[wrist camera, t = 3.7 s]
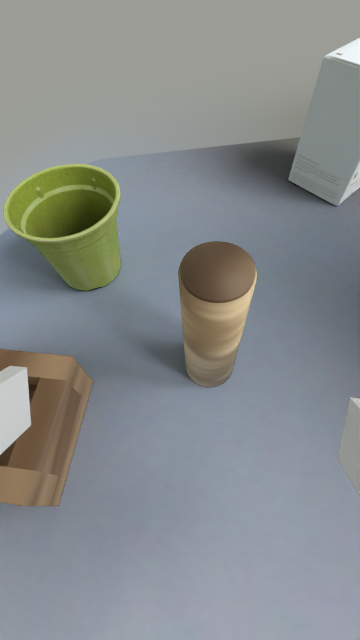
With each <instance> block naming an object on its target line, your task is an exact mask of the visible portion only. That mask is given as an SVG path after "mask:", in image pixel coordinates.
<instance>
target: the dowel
mask: <svg viewBox="0 0 360 640" xmlns="http://www.w3.org/2000/svg"><path fill="white" fill-rule="evenodd" d="M178 275H179V288H180V301H181V314H182V327H183V340H184V353H185V366H186V371H187V374H188V375H189V377H190V378H191V379H192V380H193V381H194V382H195V383H197V384H198V385H201V386H204V387H215V386H219V385H221V384H223V383H224V382H225V381H226V380H227V379H228V378H229V377H230V375H231V373H232V369H233V365H234V362H235V358H236V354H237V351H238V347H239V343H240V339H241V336H242V332H243V328H244V324H245V321H246V317H247V313H248V310H249V306H250V302H251V298H252V295H253V291H254V287H255V283H256V280H257V271H256V267H255V263H254V261H253V259H252V258H251V256H250V255H249V254H248V253H247V252H246V251H245V250H243V249H242V248H240V247H238V246H236V245H234V244H231V243H227V242H218V241H215V242H207V243H203V244H200V245H198V246H196V247H194V248H193V249H191V250H190V251H189V252H188V253H187V254H186V255H185V256H184V258H183V260H182V262H181V264H180V267H179V273H178Z"/></svg>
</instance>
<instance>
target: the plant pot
mask: <svg viewBox="0 0 360 640" xmlns="http://www.w3.org/2000/svg"><path fill="white" fill-rule="evenodd" d="M119 202H120V188H119V185H118V182H117V181H116V179H115V178H114V177H113V176H112V175H111V174H110V173H108V172H107V171H105V170H103V169H101V168H99V167H96V166H92V165H86V164H67V165H60V166H55V167H51V168H48V169H45V170H42V171H40V172H38V173H35V174H33V175H31V176H30V177H28V178H27V179H25V180H24V181H22V182H21V183H20V184H18V185H17V186H16V187H15V188H14V190H12V192H11V193H10V194H9V196H8V198H7V200H6V202H5V205H4V209H3V214H4V219H5V222H6V224H7V225H8V227H9V228H10V229H11V230H12V231H13V232H14V233H15V234H16V235H18V236H20V237H21V238H24V239H26V240H27V241H28V242H29V243H30V244H32V245H34V246H35V247H36V248H37V249H38V250H39V251H40V253H41V254H42V255H43V256H44V257H45V258H46V260H47V261H48V262H49V263H50V264H51V265H52V266H53V268H54V269H55V270H56V271H57V272H58V274H59V275H60V276H61V277H62V278H63V279H64V281H65V282H66V283H67V284H68V285H69V286H71V287H73V288H75V289H78V290H83V291H89V290H91V289H94V288H98V287H104V286H106V285H108V284H109V283H110V282H112V281H113V280H114V279H115V278H116V276H117V275H118V273H119V270H120V267H121V260H120V252H119V243H118V233H117V223H116V217H117V212H118V209H117V208H118V205H119Z"/></svg>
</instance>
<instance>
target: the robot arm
mask: <svg viewBox="0 0 360 640" xmlns="http://www.w3.org/2000/svg"><path fill="white" fill-rule="evenodd" d="M30 426H31V416H30V402H29V389H28V375H27V367H18V366H9V367H7V368H5V369H4V370H2V371H0V455H1V454H2V453H3V452H4V451H5V450H6V449H7V448H8V447H9V446H10V445H11V444H12V443H13V442H14V441H15V440H16V439H17V438H18V437H19V436H20V435H21V434H22V433H24V432H25V431H26V430H27V429H28V428H29V427H30ZM338 461H339V463H340V464H341V466H342V468H343V470H344V471H345V473H346V475H347V476H348V478H349V480H350V482H351V483H352V485H353V487H354V488H355V490H356V492H357V494H358V495H359V497H360V398H351V397H350V399H349V404H348V409H347V414H346V419H345V424H344V429H343V434H342V439H341V444H340V450H339V455H338Z"/></svg>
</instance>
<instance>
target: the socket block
mask: <svg viewBox="0 0 360 640" xmlns="http://www.w3.org/2000/svg"><path fill="white" fill-rule="evenodd" d="M9 366H18V367H27V375H28V389H29V402H30V416H31V426H30V427H29V428H28V429H27V430H26V431H25V432H24V433H22V434H21V435H20V436H19V437H18V438H17V439H16V440H15V441H14V442H13V443H12V444H11V445H10V446H9V447H8V448H7V449H6V450H5V451H4V452H3V453H2V454H1V455H0V503H7V504H14V505H20V506H59V503H60V499H61V495H62V492H63V488H64V485H65V481H66V477H67V474H68V470H69V467H70V463H71V460H72V456H73V452H74V449H75V445H76V442H77V438H78V434H79V431H80V427H81V424H82V420H83V417H84V413H85V409H86V406H87V402H88V399H89V395H90V391H91V388H92V384H93V380H92V379H91V378H90V376H89V375H88V374H87V373H86V372H85V370H84V369H83V368H82V367H81V366H80V364H79V363H78V362H77V361H76V360H75V358H74V357H73V356H65V355H54V354H44V353H34V352H23V351H13V350H3V349H0V371H2V370H4V369H5V368H7V367H9Z"/></svg>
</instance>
